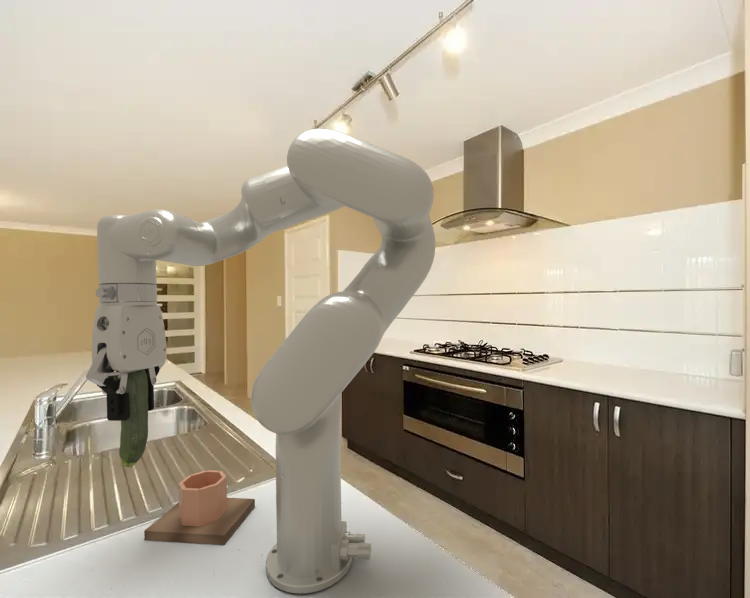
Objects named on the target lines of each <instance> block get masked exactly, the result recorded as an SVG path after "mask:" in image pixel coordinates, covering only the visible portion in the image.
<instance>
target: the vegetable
mask: <svg viewBox="0 0 750 598" xmlns="http://www.w3.org/2000/svg"><path fill="white" fill-rule="evenodd" d="M115 372H119V371H118V370H116V371H115ZM114 380H115V381H116V382H117V380H118V376H114ZM125 393H129V403H130V418H129V419H128V420H125V421H120V436H119V437H120V438H119V457H120V459H121V463H122V464H123V466H124V467H125V468H133V467H134V466H135V465H137V463H138V461H139V460H140V459H141V458H142V457H143V455H144V453H145V451H146V447H147V443H148V437H149V411H148V381H147V375H146V371H145V369H143V370H138V371H134V372H129V373H128V377H127V384H126V390H125Z"/></svg>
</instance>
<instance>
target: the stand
mask: <svg viewBox="0 0 750 598" xmlns="http://www.w3.org/2000/svg"><path fill="white" fill-rule="evenodd" d="M255 507H256V498H247V497H246V498H245V497H244V498H243V497H242V498H240V497H227V510H226V511H225V513H224V514H223V515H222V516H221V517H220V518H219V519H218V520H216V521H213V522H210V523H207V524H205V525H202V526H183V525H182V523H181V520H180V518H179V501H178V502H177V503H176V504H174V505H173V506H172V507H171V508H169V510H168V511H166V512H165V513H164V514H162V516H159V518H158V519H157V520H155V521H154V522H153V523H152V524H150V525H149V526H148V527H147V528H146V529H145V530H144V531H143V532H144V533H143V536H144V537H143V538H144V541H153V542H154V541H157V542H173V543H187V544H188V543H189V544H204V545H206V544H207V545H217V546H218V545H223V546H224V545H225V544H226V543H227V542H228V541H229V540H230V538H231V537H232V536H233V535H234V534H235V532H236V531H237V530H238V529H239V527H240V526H241V525H242V524H243V522H244V521H245V520H246V518H247V517H248V516H249V514H251V512H252V511H253V510H254V508H255Z"/></svg>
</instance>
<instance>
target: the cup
mask: <svg viewBox="0 0 750 598" xmlns="http://www.w3.org/2000/svg"><path fill="white" fill-rule="evenodd" d="M227 477H228V476H227V475H226V474H225V473H224V472H223V470H211V469H210V470H209V469H208V470H203V471H199V472H196V473H192V474H189V475H187V476H186V477H185V478H183V479H182V480H181V481H180V482H178V502H179V518H180V520H181V523H182V525H183V526H202V525H205V524H207V523H210V522H213V521H216V520H218V519H219V518H220V517H221V516H222V515H223V514H224V513H225V511H226V510H227V498H228V491H227V490H228V489H227V486H228V485H227V484H228V483H227V482H228V481H227V480H228V479H227Z"/></svg>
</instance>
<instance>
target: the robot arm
mask: <svg viewBox="0 0 750 598" xmlns="http://www.w3.org/2000/svg"><path fill="white" fill-rule="evenodd" d="M434 197H435V194H434V186H433V182H432V180H431V178H430V176H429V175H428V173H427V172H426V171H425V170H424V169H423V168H422V166H420V165H419V164H418V163H416V162H415V161H413V160H411V159H409V158H407V157H404V156H402V155H400V154H397V153H395V152H393V151H390V150H387V149H384V148H382V147H379V146H377V145H374V144H372V143H369V142H367V141H364V140H361V139H360V138H356V137H354V136H352V135H349V134H347V133H343V132H341V131H339V130H334V129H329V128H319V127H318V128H312V129H309V130H305V131H303V132H302V133H300V134H298V135H297V136H296V137H295V138H294V139H293V141H292V142H291V143H290V145H289V147H288V149H287V156H286V165H283V166H280V167H278V168H275V169H272V170H270V171H267V172H264V173H261V174H258V175H256V176H255V175H254V176H252V177H250V178H248V179H246V180H245V181H244V182H243V183H242V186H241V199H240V201H239V203H238V204H237V205H236V206H235V207H234V208H233V209H232V210H230V211H228V212H226V213H224V214H222V215H219V216H216V217H214V218H210V219H208V220H204V221H197V220H195V219H193V218H191V217H187V216H184V215H182V214H179V213H177V212H175V211H171V210H168V209H163V208H162V209H161V208H157V209H151V210H146V211H142V212H139V213H135V214H131V215H127V214H111V215H104V216H103V217H101V218H100V219H99V220H98V221H97V225H96V240H97V242H96V243H97V245H96V246H97V281H98V282H97V283H98V286H97V287H98V288H97V289H96V290H95V296H96V297H97V298H98V306H96V309H95V312H94V319H93V327H92V333H91V334H92V336H91V366H90V367H89V369H88V371H87V372H86V375H85V379H86V380H88V381H89V382H91V383H93V384H94V385H96V386H97V387H98V388H99V389H101V390H102V391H101V392H102V394H103V395H106V420H107V421H110V422H112V421H115V422H116V421H117V422H118V421H119V422H121V421H125V420H128V419H129V418H130V403H129V393H125V390H126V384H127V377H128V373H129V372H134V371H138V370H143V369H145V371H146V375H147V381H148V412H150V411H152V410H154V409H155V391H154V390H155V389H154V388H155V386H154V385H155V384H156V383H157V376H158V374H159V373H160V370H161V369H162V367H163V366H164V365H165V364H166V360H167V355H168V353H167V341H166V340H167V339H166V329H165V323H164V317H163V313H162V309H161V306H160V304H159V305H158V294H157V293H158V286H157V261H161V262H167V263H174V264H180V265H185V266H188V267H189V266H190V267H203V266H207V265H212V264H216V263H219V262H221V261H223V260H227V259H229V258H232V257H235V256H238V255H240V254H242V253H245V252H247V251H248V250H250V249H251V248H253V247H255V246H256V245H257V244H259V243H260V242H262V241H264V240H265V239H266V238H267V237H268V236H269V235H272V234H274V233H276V232H279V231H282V230H285V229H288V228H289V227H292V226H295V225H298V224H302V223H304V222H307V221H309V220H313V219H315V218H318V217H320V216H324V215H326V214H329V213H332V212H336V211H337V210H338V211H339V209H340V210H341V209H342V208H345V207H347V208H349V209H352V210H354V211H356V212H358V213H360V214H361V213H362V214H364V215H365V216H369V217H370V218H372V219H373V221H374V223H375V226H376V227H377V229H378V231H379V233H380V236H381V241H380V245H379V247H378V249H377V250H376V252H375V253H374V254H373V255H371V257H370V258H369V259H368V260H367V261H366V263H365V264H364V265H363V267H362V268H361V269H360V271H359V272H358V273H357V275H356V276H355V277H354V278H353V280H352V281H350V283H349V284H348V285H347V286H346V288H344V289H343V291H337V292H333V293H330V294H328V295H326V296H324V297H323V298H321V299H320V300H319V301H318V302H316V304H314V305H313V306H312V307H311V308H310V310H308V312H306V314H305V315H304V316H303V317H302V319H300V321H299V322H298V323H297V325H296V326H295V327H294V329H293V330H292V331H291V332H290V333H289V335H288V336H287V337H286V338H285V340H284V341H283V342H282V343H281V344H280V346H279V347H278V348H277V349H276V351H275V352H274V353H273V354H272V356H271V357H270V358H269V359H268V360H267V362H266V363H265V364H264V365H263V367H262V368H261V369H260V371H259V372H258V374H257V376H256V378H255V380H254V382H253V385H252V389H251V395H250V403H251V409H252V412H253V414H254V416H255V418H256V420H257V421H258V423H259V424H260V425H261V426H262V427H263V428H264V429H266V430H268V431H269V432H272V433H275V501H276V502H275V503H276V507H275V509H276V511H275V512H276V515H275V516H276V543H275V544H274V546H272V548H271V549H270V551H269V553H268V554H267V558H266V561H265V570H266V576H267V578H268V581H269V582H270V583H271V584H272V586H275V587H276V588H278V589H280V590H281V591H283V592H286V593H292V594H310V593H317V592H319V591H323V590H325V589H327V588H330V587H332V586H333V585H334V584H337V583H338V582H339V581H340V580H341V579H343V577H345V575H346V574H347V573H348V572H349V570H350V568H351V566H352V564H353V559H358V560H369V561H370V560H371V555H372V543H369V542H366V534H363V533H356V534H355V533H351V531H347V528H348V525H347V521H345V520H342V518H343V517H342V478H341V477H342V474H341V472H342V471H341V467H342V466H341V463H342V462H341V417H342V416H341V414H342V411H341V410H342V392H344V390H346V389H345V388H347V386H348V385H349V384H350V383H351V382H352V381H353V379H354V378H355V377H356V376H357V374H359V372H360V371H361V369H362V368H363V367H364V366H365V364H367V362H368V361H369V360H370V358H371V357H372V356H373V355H374V353H375V352H376V350H377V349H378V347H379V345H380V343H381V341H382V339H383V336H384V335H385V333H386V332H387V330H388V328H389V327H390V326H391V325H392V324H393V322H394V320H395V319H396V318H397V317H398V316H399V315H400V313H401V312H402V311H403V310H404V309H405V307H406V305H407V304H408V303H409V302H410V301H411V299H412V298H413V296H415V293H416V292H417V291H418V290H419V289H420V288H421V286H422V285H423V283H424V281H425V280H426V278H427V277H428V275H429V272H430V271H431V269H432V266H433V263H434V260H435V255H436V235H435V230H434V227H433V223H432V221H431V217H430V214H431V211H432V209H433V208H432V207H433V204H434ZM116 370H118V371H119V372H116ZM114 376H118V380H117V382H116V381H115V380H114Z"/></svg>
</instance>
